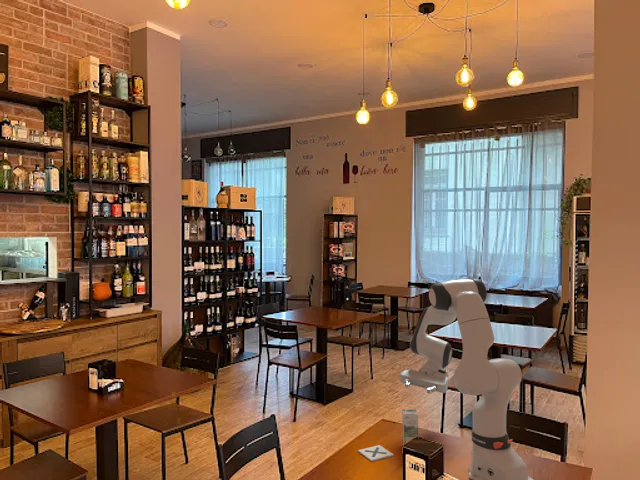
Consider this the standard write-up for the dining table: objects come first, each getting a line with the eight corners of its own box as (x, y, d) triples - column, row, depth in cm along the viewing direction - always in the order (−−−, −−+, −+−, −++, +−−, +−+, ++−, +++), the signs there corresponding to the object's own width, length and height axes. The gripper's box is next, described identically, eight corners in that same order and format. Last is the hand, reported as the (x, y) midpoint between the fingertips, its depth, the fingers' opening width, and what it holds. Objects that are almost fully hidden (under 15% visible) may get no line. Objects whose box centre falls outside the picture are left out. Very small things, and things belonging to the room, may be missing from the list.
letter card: (393, 455, 186) (393, 454, 186) (371, 461, 182) (371, 459, 182) (379, 446, 195) (379, 444, 195) (358, 451, 191) (358, 449, 191)
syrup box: (417, 444, 196) (416, 408, 196) (418, 451, 190) (417, 413, 190) (403, 444, 196) (402, 408, 196) (404, 450, 191) (403, 413, 191)
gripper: (405, 362, 217) (393, 375, 206) (451, 373, 207) (441, 387, 195) (405, 376, 219) (393, 389, 207) (451, 387, 208) (441, 402, 197)
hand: (417, 388), depth 201 cm, fingers open, 8 cm apart
